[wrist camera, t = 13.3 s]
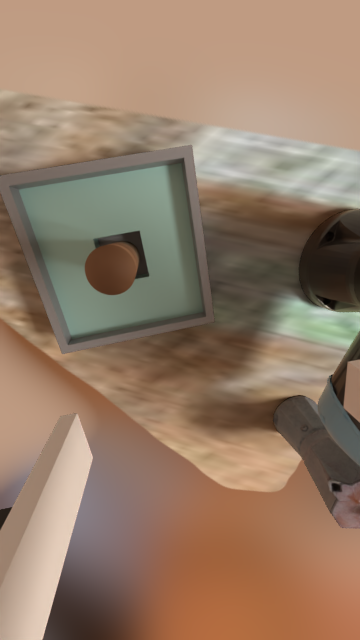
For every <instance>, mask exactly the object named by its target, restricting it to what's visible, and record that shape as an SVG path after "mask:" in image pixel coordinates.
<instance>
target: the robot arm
mask: <svg viewBox="0 0 360 640" xmlns="http://www.w3.org/2000/svg"><path fill="white" fill-rule="evenodd" d="M299 276H300V282H301V286H302V289H303V291H304V293H305V294H306V296H307V297H308V298H309V299H310V300H311V301H312V302H313V303H315V304H317V305H318V306H321V307H323V308H326V309H328V310H331V311H336V312H360V209H354V210H347V211H344V212H340V213H338V214H336V215H334V216H332V217H330V218H329V219H327V220H326V221H325V222H323V223H322V224H321V225H320V226H319V227H318V228H317V229H316V230H315V231H314V233H313V234H312V235H311V237H310V238H309V240H308V242H307V244H306V245H305V248H304V250H303V253H302V256H301V260H300V267H299ZM318 413H319V417H320V419H321V421H322V423H323V425H324V426H325V428H326V430H327V432H328V433H329V434H330V436H331V437H332V438H333V440H334V441H335V442H336V443H337V444H338V445H339V447H340V448H341V449H342V450H343V451H344V452H345V453H346V454H347V455H348V456H349V457H350V458H351V459H352V460H353V461H355V462H356V463H357V464H358V465H359V466H360V331H359V333H358V334H357V336H356V337H355V339H354V341H353V342H352V344H351V346H350V347H349V349H348V351H347V352H346V354H345V356H344V357H343V359H342V361H341V362H340V364H339V366H338V367H337V369H336V371H335V372H334V374H333V375H331V376H329V378H328V381H327V385H326V387H325V389H324V391H323V393H322V395H321V397H320V399H319V401H318ZM92 459H93V456H92V454H91V451H90V448H89V445H88V442H87V440H86V437H85V434H84V431H83V428H82V425H81V423H80V420H79V417H78V414H77V413H74V414H70V415H64V416H60V418H59V420H58V422H57V424H56V425H55V427H54V429H53V431H52V433H51V435H50V437H49V439H48V441H47V443H46V444H45V447H44V448H43V450H42V452H41V454H40V456H39V458H38V460H37V462H36V464H35V465H34V467H33V469H32V471H31V473H30V475H29V477H28V479H27V481H26V482H25V484H24V486H23V488H22V490H21V492H20V494H19V496H18V498H17V500H16V501H15V503H14V506H13V507H11V508H6V509H1V510H0V640H42V639H43V635H44V632H45V628H46V625H47V621H48V617H49V614H50V610H51V606H52V603H53V599H54V596H55V592H56V589H57V585H58V581H59V578H60V574H61V571H62V567H63V563H64V560H65V556H66V553H67V549H68V545H69V541H70V538H71V535H72V531H73V528H74V524H75V520H76V516H77V513H78V510H79V506H80V502H81V499H82V495H83V491H84V488H85V484H86V480H87V477H88V474H89V470H90V466H91V463H92Z"/></svg>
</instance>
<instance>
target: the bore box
mask: <svg viewBox="0 0 360 640" xmlns="http://www.w3.org/2000/svg"><path fill="white" fill-rule="evenodd" d="M0 193H1V196H2V198H3V201H4V203H5V206H6V209H7V211H8V214H9V216H10V219H11V222H12V224H13V227H14V229H15V232H16V235H17V237H18V240H19V242H20V245H21V248H22V250H23V253H24V256H25V258H26V261H27V263H28V266H29V269H30V271H31V274H32V276H33V279H34V282H35V284H36V287H37V289H38V292H39V295H40V297H41V300H42V302H43V305H44V308H45V310H46V313H47V316H48V318H49V321H50V323H51V326H52V329H53V331H54V334H55V336H56V339H57V342H58V344H59V347H60V349H61V352H62V354H65V353H70V352H75V351H79V350H84V349H89V348H94V347H98V346H103V345H108V344H113V343H117V342H122V341H127V340H132V339H137V338H141V337H146V336H151V335H156V334H160V333H165V332H170V331H175V330H180V329H184V328H189V327H194V326H199V325H203V324H208V323H213V322H215V320H214V312H213V305H212V297H211V289H210V281H209V273H208V266H207V258H206V250H205V242H204V235H203V227H202V219H201V211H200V204H199V196H198V188H197V180H196V173H195V165H194V157H193V149H192V145H188V146H182V147H175V148H169V149H163V150H157V151H150V152H144V153H138V154H131V155H125V156H119V157H113V158H106V159H100V160H94V161H87V162H81V163H75V164H69V165H62V166H56V167H50V168H43V169H37V170H31V171H25V172H18V173H12V174H6V175H0ZM120 241H128V242H131V243H132V244H134V245H135V246H136V247H137V249H138V250H139V253H140V261H139V265H138V269H137V273H136V276H135V280H134V282H133V284H132V286H131V287H130V288H129V289H128V290H127V291H125V292H124V293H121V294H118V295H106V294H103V293H100V292H98V291H97V290H95V289H94V288H93V287H92V286H91V285H90V283H89V282H88V280H87V278H86V274H85V262H86V259H87V257H88V256H89V254H90V253H91V252H92V251H93V250H94V249H96V248H98V247H100V246H104V245H108V244H112V243H116V242H120Z"/></svg>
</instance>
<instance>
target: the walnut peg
mask: <svg viewBox="0 0 360 640" xmlns="http://www.w3.org/2000/svg"><path fill="white" fill-rule="evenodd" d="M139 261H140V253H139V250H138V249H137V247H136V246H135V245H134V244H132V243H131V242H128V241H120V242H116V243H112V244H108V245H104V246H100V247H98V248H96V249H94V250H93V251H92V252H91V253H90V254H89V256H88V257H87V259H86V262H85V274H86V278H87V280H88V282H89V283H90V285H91V286H92V287H93V288H94V289H95V290H97V291H98V292H100V293H103V294H106V295H118V294H121V293H124V292H125V291H127V290H128V289H129V288H130V287H131V286H132V284H133V282H134V280H135V276H136V273H137V269H138V265H139Z"/></svg>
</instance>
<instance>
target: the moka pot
mask: <svg viewBox="0 0 360 640" xmlns="http://www.w3.org/2000/svg"><path fill="white" fill-rule="evenodd" d="M273 421H274V424H275V427H276V429H277V431H278V432H279V433H280V434H281V435H282V436H283V437H284V438H285V439H286V441H287V442H288V443H289V444H290V445H291V446H292V447H293V448H294V449H295V451H296V452H297V453H298V454H299V455H300V456H301V457H302V459H303V460H304V463H305V465H306V467H307V469H308V471H309V473H310V475H311V477H312V479H313V481H314V482H315V484H316V486H317V488H318V490H319V492H320V494H321V496H322V498H323V500H324V502H325V504H326V505H327V508H328V509H329V511H330V513H331V514H332V516H333V517H334V518H335V520H336V521H337V523H338V524H339V526H340V527H342V528H360V466H359V465H358V464H357V463H356V462H355V461H353V460H352V459H351V458H350V457H349V456H348V455H347V454H346V453H345V452H344V451H343V450H342V449H341V448H340V447H339V445H338V444H337V443H336V442H335V441H334V440H333V438H332V437H331V436H330V434H329V433H328V432H327V430H326V428H325V426H324V425H323V423H322V421H321V419H320V417H319V413H318V405H317V404H316V403H315V402H314V401H313V400H311V399H309V398H307V397H304V396H295V397H291V398H289V399H287V400H285V401H284V402H282V403H281V404H280V405H279V406H278V408H277V409H276V411H275V413H274V418H273Z"/></svg>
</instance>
